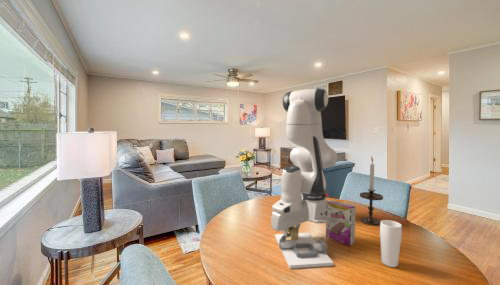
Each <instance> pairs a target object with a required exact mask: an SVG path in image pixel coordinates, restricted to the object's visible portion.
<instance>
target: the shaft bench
mask: <svg viewBox="0 0 500 285" xmlns="http://www.w3.org/2000/svg"><path fill="white" fill-rule="evenodd" d="M274 239H275V240H276V242H277V245H278V247H279V249H280V251H281V252H282V255H283V258H284V259H285V261H286V263H287V266H288V268H289V269H304V268H306V269H308V268H319V267H333V266H334V262H333V260H332V259H331V258H330V257H329V255H328V254H327V243H326V242H324V240H323V239H321V238H320V239H318V242H317V240H315V238H314V237H313V235H311V233H310V232H298V240H296V241H295V240H286V236H284V235H283V233H275V234H274Z"/></svg>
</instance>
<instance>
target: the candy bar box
mask: <svg viewBox="0 0 500 285" xmlns="http://www.w3.org/2000/svg"><path fill="white" fill-rule="evenodd" d="M356 207H357V206H356V205H353V204H349V203H347V202H346V203H345V202H341V201H338V200H333V199H330V200H328V202H327V217H326V222H325V223H326V225H325V238H328V239H330V240H333V241H336V242H339V243H341V244H343V245H347V246H349V247H350V246H352V245H353V244H354V243H355V237H356V235H355V234H356V232H355V231H356Z"/></svg>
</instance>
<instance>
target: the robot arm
mask: <svg viewBox="0 0 500 285" xmlns="http://www.w3.org/2000/svg"><path fill="white" fill-rule="evenodd" d="M328 103H329V95H328V93H327V90H326V89H324V88H319V87H317V88H303V89H300V90H292V91H291V90H290V91H288V92H286V93H285V94H284V95H283V97H282V107H283V109H284V110H285V112H287V113H286V122H285V123H286V125H285V127H286V128H285V132H286V133H285V134H286V137H287V138H288V139H287V140H289V141H290V142H291V144H292V143H293V144H294V145H296V146H297V147H293V148H292V149H291V151H290V153H289V160H290V162H291V163H292V164H293V165H287V166H285V167H283V169H282V171H281V172H282V173H281V180H280V182H281V183H280V186H281V187H280V188H281V195H280V199H279V200H277V201H276V202H275V203H274V204H273V205H272V206H271V209H272V213H271V217H270V218H271V219H270V224H271V225H270V226H271V227H270V228H272V230H274V231H276V232H282V234H283V235H284V236H286V238H287V237H289V233H287V228H289V227H292V226H295V227H297V228H299V229H300V228H301V224H302V223H305V222H308V221H311V222H314V223H317V224H319V223H326V217H327V202H328V201H329V200H328V199H327V198H329V197H330V195H329V193H327V192H326V193H325V191H326V188H327V181H326V177H325V173H324V169H327V168H333V167H335V165H336V164H337V162H338V154H337V152H336V151H335V149H333V148H332V147H331V146H330V145H329V144H327V142H326V140H325V138H324V134H323V124H322V122H323V120H322V111H325V109H326V108H327V107H328Z"/></svg>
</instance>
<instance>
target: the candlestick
mask: <svg viewBox="0 0 500 285" xmlns="http://www.w3.org/2000/svg"><path fill="white" fill-rule="evenodd" d="M370 156H371V157H370V159H371V163H370V166H369V188H368V189H367V191H368V192H367V191H365V192H360V193H359V197H360V198H363V199H366V200H368V201H369V206H368V207H367V209H368V216H363V217H361V218H360V221H361V223H363V224H365V225H367V226H368V225H369V226H373V227H374V226H380V222H381V221H380V220H379V219H377V218H375V217H373V214H374V212H373V211H374V209H375V207H373V201H381V200H383V199H384V196H383V195H382V194H380V193H377V190H376V189H374V188H375V187H374V186H375V184H374V183H375V164H374V158H373V157H372V155H370Z"/></svg>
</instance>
